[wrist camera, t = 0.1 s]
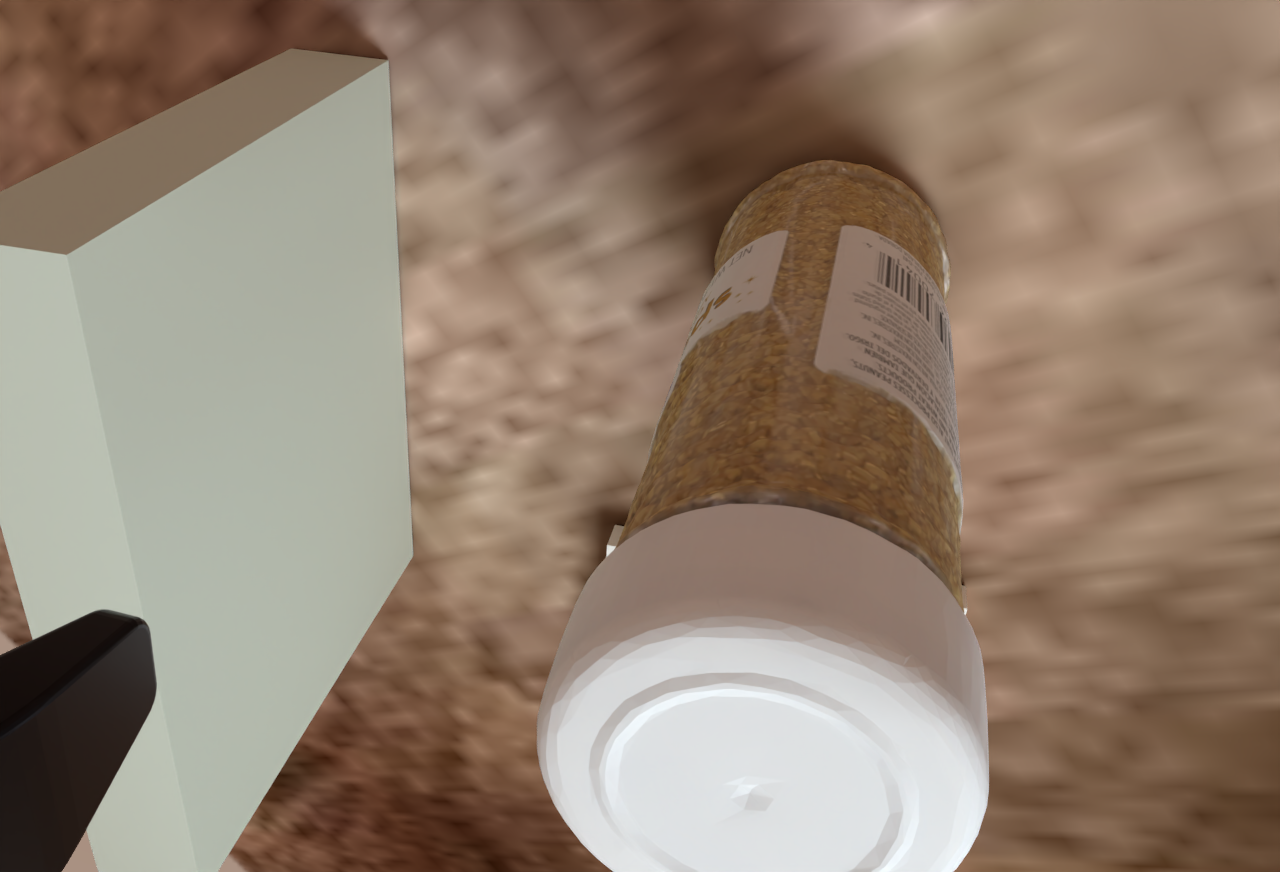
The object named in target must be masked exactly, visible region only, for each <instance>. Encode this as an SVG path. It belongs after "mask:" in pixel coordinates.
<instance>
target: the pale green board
mask: <svg viewBox="0 0 1280 872" xmlns="http://www.w3.org/2000/svg"><path fill="white" fill-rule="evenodd" d="M0 525H1V529H2V532H3V536H4V540H5V543H6V547H7V550H8V554H9V557H10V561H11V564H12V568H13V571H14V575H15V579H16V582H17V586H18V589H19V593H20V596H21V600H22V603H23V607H24V610H25V614H26V618H27V621H28V625H29V628H30V632H31V635H32V639H36V638H38V637H40V636H42V635H44V634H46V633H48V632H50V631H52V630H55V629H57V628H59V627H61V626H63V625H65V624H67V623H69V622H71V621H74V620H76V619H78V618H80V617H82V616H84V615H86V614H88V613H91V612H93V611H96V610H101V609H108V610H113V611H117V612H121V613H124V614H128V615H132V616H136V617H140V618H141V619H144V620H145V622H146V623H147V624H148V626H149V628H150V633H151V641H152V648H153V656H154V664H155V672H156V680H157V690H156V697H155V701H154V704H153V706H152V709H151V711H150V713H149V715H148V717H147V719H146V721H145V723H144V724H143V726H142V728H141V730H140V732H139V734H138V735H137V737H136V739H135V741H134V743H133V745H132V747H131V748H130V750H129V752H128V754H127V756H126V758H125V759H124V761H123V763H122V765H121V767H120V769H119V770H118V772H117V774H116V776H115V778H114V780H113V781H112V783H111V785H110V787H109V789H108V791H107V792H106V794H105V796H104V798H103V800H102V802H101V803H100V805H99V807H98V809H97V811H96V813H95V815H94V816H93V818H92V820H91V822H90V824H89V826H88V827H87V829H86V830H87V833H88V837H89V841H90V844H91V848H92V851H93V855H94V859H95V862H96V866H97V869H98V872H218V871H219V869H220V867H221V866H222V864H223V862H224V861H225V859H226V858H227V856H228V854H229V853H230V851H231V850H232V848H233V846H234V845H235V843H236V842H237V840H238V838H239V837H240V835H241V833H242V832H243V830H244V829H245V827H246V825H247V824H248V822H249V821H250V819H251V817H252V816H253V814H254V812H255V811H256V809H257V808H258V806H259V804H260V803H261V801H262V799H263V798H264V796H265V795H266V793H267V791H268V790H269V788H270V787H271V785H272V783H273V782H274V780H275V778H276V777H277V775H278V774H279V772H280V770H281V769H282V767H283V766H284V764H285V762H286V761H287V759H288V757H289V756H290V754H291V753H292V751H293V749H294V748H295V746H296V745H297V743H298V741H299V740H300V738H301V736H302V735H303V733H304V732H305V730H306V728H307V727H308V725H309V723H310V722H311V720H312V719H313V717H314V715H315V714H316V712H317V711H318V709H319V707H320V706H321V704H322V702H323V701H324V699H325V698H326V696H327V694H328V693H329V691H330V690H331V688H332V686H333V685H334V683H335V681H336V680H337V678H338V677H339V675H340V673H341V672H342V670H343V668H344V667H345V665H346V664H347V662H348V660H349V659H350V657H351V656H352V654H353V652H354V651H355V649H356V647H357V646H358V644H359V643H360V641H361V639H362V638H363V636H364V635H365V633H366V631H367V630H368V628H369V626H370V625H371V623H372V622H373V620H374V618H375V617H376V615H377V614H378V612H379V610H380V609H381V607H382V605H383V604H384V602H385V601H386V599H387V597H388V596H389V594H390V592H391V591H392V589H393V588H394V586H395V584H396V583H397V581H398V580H399V578H400V576H401V575H402V573H403V571H404V570H405V568H406V567H407V565H408V563H409V562H410V560H411V559H412V557H413V541H412V521H411V500H410V480H409V460H408V440H407V420H406V400H405V380H404V360H403V340H402V320H401V300H400V280H399V260H398V240H397V220H396V200H395V180H394V160H393V140H392V120H391V100H390V80H389V60H383V59H375V58H366V57H358V56H350V55H341V54H333V53H325V52H317V51H308V50H300V49H292V48H291V49H289V50H287V51H285V52H283V53H281V54H279V55H277V56H275V57H273V58H271V59H269V60H267V61H265V62H263V63H260V64H258V65H256V66H254V67H252V68H250V69H248V70H246V71H244V72H242V73H240V74H238V75H236V76H234V77H232V78H230V79H228V80H226V81H224V82H222V83H220V84H218V85H216V86H214V87H212V88H210V89H208V90H206V91H204V92H202V93H200V94H198V95H196V96H194V97H192V98H189V99H187V100H185V101H183V102H181V103H179V104H177V105H175V106H173V107H171V108H169V109H167V110H165V111H163V112H161V113H159V114H157V115H155V116H153V117H151V118H149V119H147V120H145V121H143V122H141V123H139V124H137V125H135V126H133V127H131V128H129V129H127V130H125V131H123V132H121V133H118V134H116V135H114V136H112V137H110V138H108V139H106V140H104V141H102V142H100V143H98V144H96V145H94V146H92V147H90V148H88V149H86V150H84V151H82V152H80V153H78V154H76V155H74V156H72V157H70V158H68V159H66V160H64V161H62V162H60V163H58V164H56V165H54V166H52V167H49V168H47V169H45V170H43V171H41V172H39V173H37V174H35V175H33V176H31V177H29V178H27V179H25V180H23V181H21V182H19V183H17V184H15V185H13V186H11V187H9V188H7V189H5V190H3V191H1V192H0Z"/></svg>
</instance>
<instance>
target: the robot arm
mask: <svg viewBox="0 0 1280 872" xmlns="http://www.w3.org/2000/svg"><path fill="white" fill-rule="evenodd" d="M156 690H157V680H156V672H155V664H154V656H153V648H152V641H151V633H150V628H149V626H148V624H147V623H146V622H145V620H144V619H141V618H140V617H136V616H132V615H128V614H124V613H121V612H117V611H113V610H108V609H101V610H96V611H93V612H91V613H88V614H86V615H84V616H82V617H80V618H78V619H76V620H74V621H71V622H69V623H67V624H65V625H63V626H61V627H59V628H57V629H55V630H52V631H50V632H48V633H46V634H44V635H42V636H40V637H38V638H36V639H33V640H31V641H29V642H27V643H25V644H23V645H21V646H19V647H16V648H14V649H12V650H10V651H8V652H6V653H4V654H2V655H0V872H61V871H62V870H63V869H64V867H65V865H66V864H67V863H68V861H69V859H70V857H71V856H72V854H73V852H74V850H75V849H76V847H77V845H78V844H79V842H80V840H81V838H82V837H83V835H84V833H85V831H86V829H87V827H88V826H89V824H90V822H91V820H92V818H93V816H94V815H95V813H96V811H97V809H98V807H99V805H100V803H101V802H102V800H103V798H104V796H105V794H106V792H107V791H108V789H109V787H110V785H111V783H112V781H113V780H114V778H115V776H116V774H117V772H118V770H119V769H120V767H121V765H122V763H123V761H124V759H125V758H126V756H127V754H128V752H129V750H130V748H131V747H132V745H133V743H134V741H135V739H136V737H137V735H138V734H139V732H140V730H141V728H142V726H143V724H144V723H145V721H146V719H147V717H148V715H149V713H150V711H151V709H152V706H153V704H154V701H155V697H156Z"/></svg>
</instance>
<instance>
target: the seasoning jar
mask: <svg viewBox="0 0 1280 872" xmlns="http://www.w3.org/2000/svg"><path fill="white" fill-rule="evenodd" d="M714 264H715V273H714V277H713V279H712V281H711V282H710V284H709V286H708V287H707V289H706V291H705V293H704V295H703V297H702V300H701V302H700V305H699V307H698V310H697V313H696V316H695V319H694V322H693V324H692V327H691V330H690V333H689V336H688V339H687V342H686V345H685V348H684V351H683V354H682V357H681V359H680V362H679V365H678V368H677V371H676V374H675V377H674V379H673V382H672V385H671V387H670V390H669V393H668V396H667V398H666V401H665V404H664V407H663V409H662V412H661V415H660V418H659V420H658V423H657V426H656V429H655V433H654V436H653V440H652V443H651V447H650V450H649V455H648V462H647V466H646V469H645V472H644V474H643V477H642V480H641V483H640V484H639V486H638V489H637V492H636V495H635V497H634V500H633V503H632V505H631V508H630V510H629V514H628V518H627V521H626V523H625V526H624V528H623V531H622V534H621V536H620V538H619V541H618V544H617V546H616V548H615V549H614V550H613V551H612V552H611V553H610V554H609V555H608V556H607V557H606V558H605V559H604V560H603V561H602V562H601V563H600V565H599V566H598V567H597V568H596V569H595V571H594V572H593V573H592V575H591V576H590V577H589V579H588V580H587V582H586V584H585V586H584V588H583V590H582V592H581V594H580V596H579V598H578V600H577V602H576V604H575V607H574V609H573V612H572V614H571V617H570V619H569V622H568V624H567V627H566V629H565V632H564V634H563V637H562V639H561V642H560V645H559V648H558V650H557V653H556V656H555V659H554V662H553V665H552V668H551V671H550V674H549V677H548V680H547V683H546V686H545V689H544V693H543V697H542V701H541V705H540V708H539V712H538V718H537V754H538V758H539V765H540V769H541V772H542V776H543V779H544V782H545V784H546V787H547V789H548V791H549V794H550V796H551V799H552V801H553V803H554V805H555V807H556V808H557V810H558V811H559V813H560V814H561V816H562V818H563V819H564V821H565V822H566V824H567V825H568V826H569V827H570V829H571V830H572V831H573V833H574V834H575V835H576V836H577V838H578V839H579V840H580V842H581V843H582V844H583V845H584V846H585V847H586V848H587V849H588V850H589V851H590V852H591V853H592V854H593V855H594V856H595V857H596V858H597V859H598V860H600V861H601V862H602V863H603V864H604V865H605V866H607V867H608V868H609V869H611V870H612V871H613V872H953V871H954V870H955V869H956V868H957V867H958V866H959V864H960V863H961V862H962V860H963V859H964V857H965V856H966V855H967V853H968V852H969V850H970V848H971V846H972V844H973V843H974V841H975V839H976V837H977V835H978V833H979V830H980V826H981V823H982V820H983V817H984V814H985V811H986V807H987V801H988V793H989V756H988V723H987V706H986V691H985V678H984V668H983V661H982V655H981V650H980V647H979V644H978V641H977V639H976V636H975V633H974V631H973V628H972V626H971V625H970V623H969V621H968V619H967V617H966V615H965V614H964V606H963V596H962V584H961V561H960V531H961V524H962V514H963V490H962V479H961V468H960V451H959V437H958V425H957V410H956V395H955V380H954V365H953V350H952V337H951V326H950V321H949V316H948V312H947V308H946V305H945V304H946V302H947V299H948V293H949V288H950V275H951V266H950V259H949V256H948V252H947V244H946V240H945V237H944V235H943V233H942V232H941V229H940V226H939V223H938V221H937V219H936V216H935V215H934V214H933V212H932V211H931V209H930V208H929V206H928V205H927V204H926V203H925V202H923V201H922V200H921V199H920V197H919V196H918V195H917V194H916V193H915V192H914V191H913V190H912V189H911V188H909V187H908V186H907V185H906V184H904V183H903V182H902V181H901V180H898V179H896V178H894V177H892V176H890V175H889V174H887V173H885V172H883V171H880V170H877V169H874V168H872V167H870V166H868V165H861V164H854V163H850V162H840V161H834V160H819V161H814V162H810V163H806V164H802V165H798V166H796V167H793V168H790V169H788V170H785V171H783V172H781V173H779V174H777V175H776V176H774V177H773V178H772V179H771V180H768V181H766V182H764V183H763V184H761V185H760V186H759V187H758V188H756V189H755V190H753V191H752V192H750V193H749V194H748V195H747V196H746V197H745V198H744V199H743V201H742V202H741V203H740V204H739V205H738V207H737V208H736V210H735V211H734V213H733V215H732V216H731V218H730V219H729V221H728V222H727V224H726V225H725V228H724V231H723V233H722V236H721V238H720V241H719V245H718V248H717V252H716V255H715V263H714Z"/></svg>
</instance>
